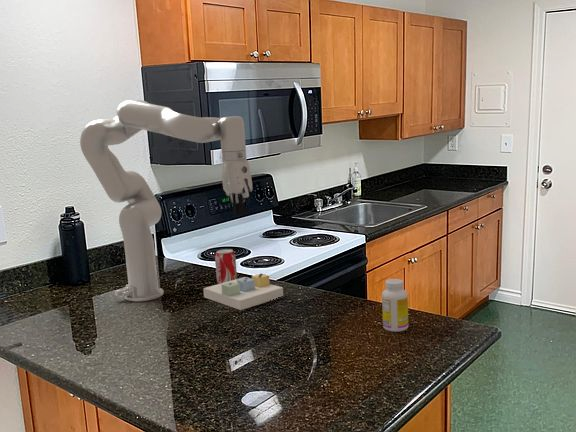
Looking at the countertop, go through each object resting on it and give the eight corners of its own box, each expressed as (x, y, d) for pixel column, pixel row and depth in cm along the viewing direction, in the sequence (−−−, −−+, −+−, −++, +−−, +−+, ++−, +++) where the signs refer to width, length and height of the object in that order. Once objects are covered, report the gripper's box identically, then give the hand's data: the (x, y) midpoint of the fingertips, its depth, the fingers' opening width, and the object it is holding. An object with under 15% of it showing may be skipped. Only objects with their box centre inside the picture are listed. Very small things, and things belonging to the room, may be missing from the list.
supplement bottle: (410, 324, 157) (409, 278, 155) (406, 333, 151) (405, 285, 149) (385, 322, 160) (383, 277, 157) (380, 331, 154) (379, 284, 151)
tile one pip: (229, 299, 181) (228, 286, 180) (222, 296, 184) (221, 283, 183) (240, 296, 184) (239, 283, 183) (232, 293, 187) (231, 281, 186)
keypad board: (240, 310, 177) (239, 300, 176) (204, 297, 192) (203, 288, 191) (283, 296, 187) (282, 287, 187) (245, 285, 202) (245, 276, 202)
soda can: (234, 287, 201) (231, 253, 199) (214, 287, 202) (211, 253, 200) (239, 281, 207) (237, 248, 205) (220, 281, 209) (218, 248, 207)
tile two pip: (245, 294, 185) (244, 281, 184) (237, 292, 188) (236, 279, 187) (255, 291, 187) (254, 279, 187) (247, 289, 190) (246, 276, 190)
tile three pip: (260, 290, 189) (259, 277, 188) (252, 288, 192) (251, 275, 191) (269, 287, 191) (269, 274, 191) (262, 285, 194) (261, 272, 194)
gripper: (258, 155, 179) (262, 215, 182) (230, 155, 190) (234, 211, 193) (238, 158, 174) (243, 219, 177) (210, 157, 185) (215, 214, 188)
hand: (238, 214), depth 185 cm, fingers closed
